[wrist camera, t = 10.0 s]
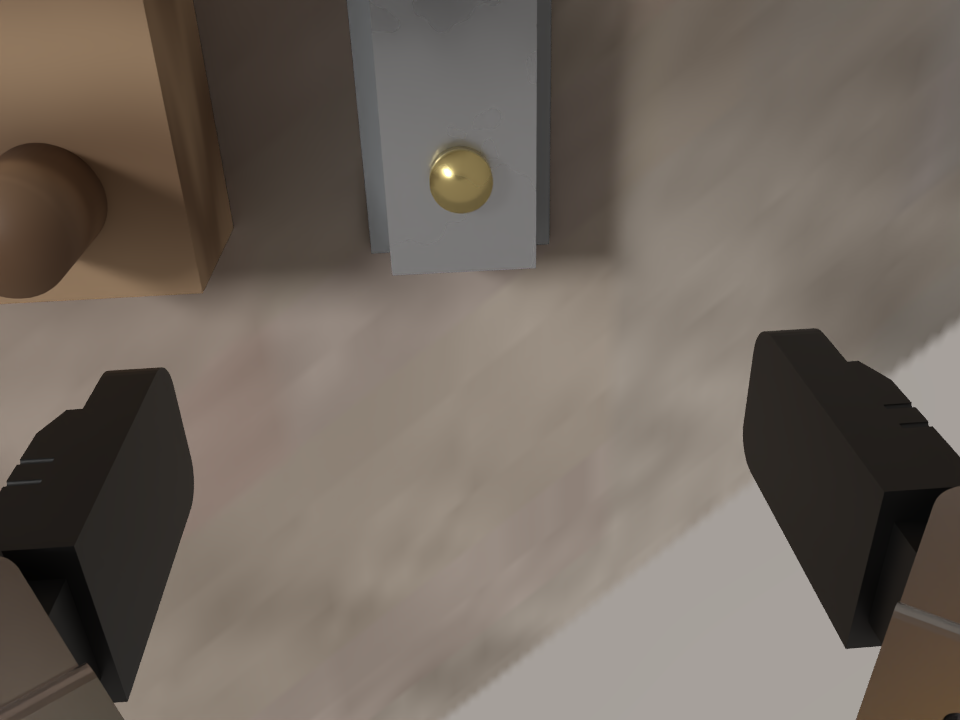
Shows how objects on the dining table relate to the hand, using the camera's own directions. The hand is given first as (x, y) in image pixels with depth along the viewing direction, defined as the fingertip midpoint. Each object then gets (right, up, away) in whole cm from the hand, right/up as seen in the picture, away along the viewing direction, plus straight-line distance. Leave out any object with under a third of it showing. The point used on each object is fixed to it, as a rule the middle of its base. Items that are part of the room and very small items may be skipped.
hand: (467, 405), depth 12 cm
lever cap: (-1, +9, +15) cm, 18 cm away
